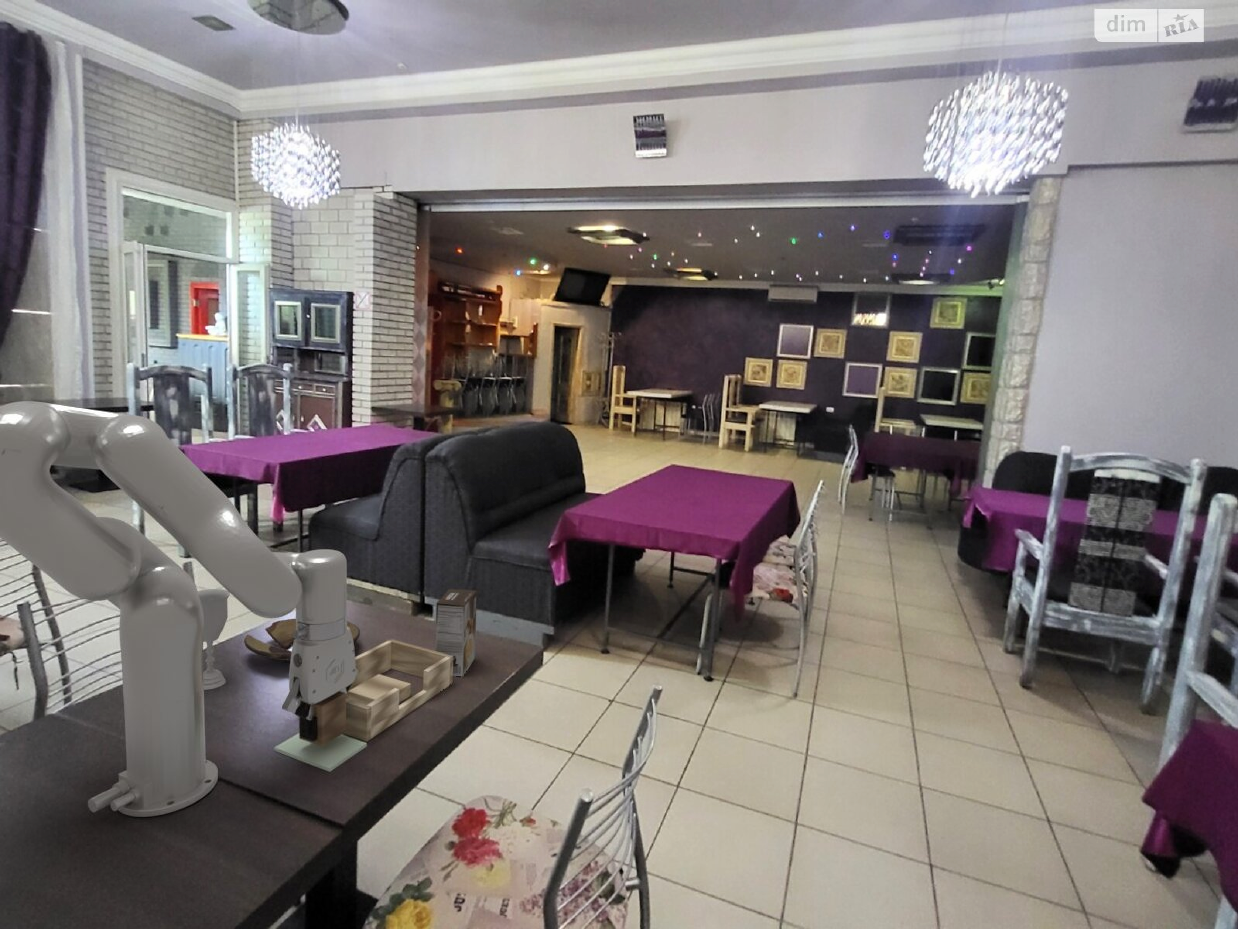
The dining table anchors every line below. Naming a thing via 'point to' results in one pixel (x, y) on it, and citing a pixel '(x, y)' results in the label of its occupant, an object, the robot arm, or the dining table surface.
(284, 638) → the broken brown bowl
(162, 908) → the dining table surface
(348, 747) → the mat
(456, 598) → the coffee box
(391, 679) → the crate
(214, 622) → the chalice
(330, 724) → the block
